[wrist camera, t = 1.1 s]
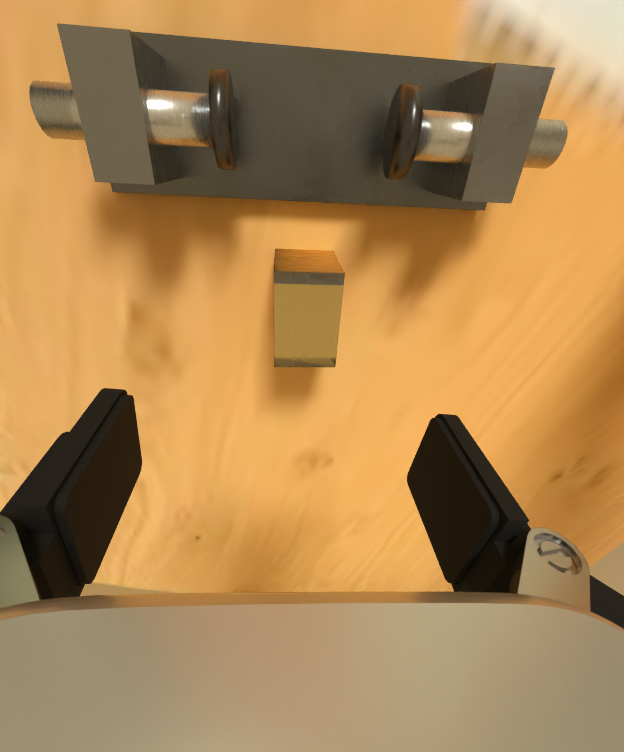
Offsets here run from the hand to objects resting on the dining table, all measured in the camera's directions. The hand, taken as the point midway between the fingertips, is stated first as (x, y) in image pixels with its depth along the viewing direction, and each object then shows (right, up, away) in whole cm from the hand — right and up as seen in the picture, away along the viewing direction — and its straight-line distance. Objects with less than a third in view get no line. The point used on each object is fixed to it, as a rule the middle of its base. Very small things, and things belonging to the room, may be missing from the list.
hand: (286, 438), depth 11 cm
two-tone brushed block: (0, +9, +18) cm, 20 cm away
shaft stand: (+1, +18, +12) cm, 22 cm away
